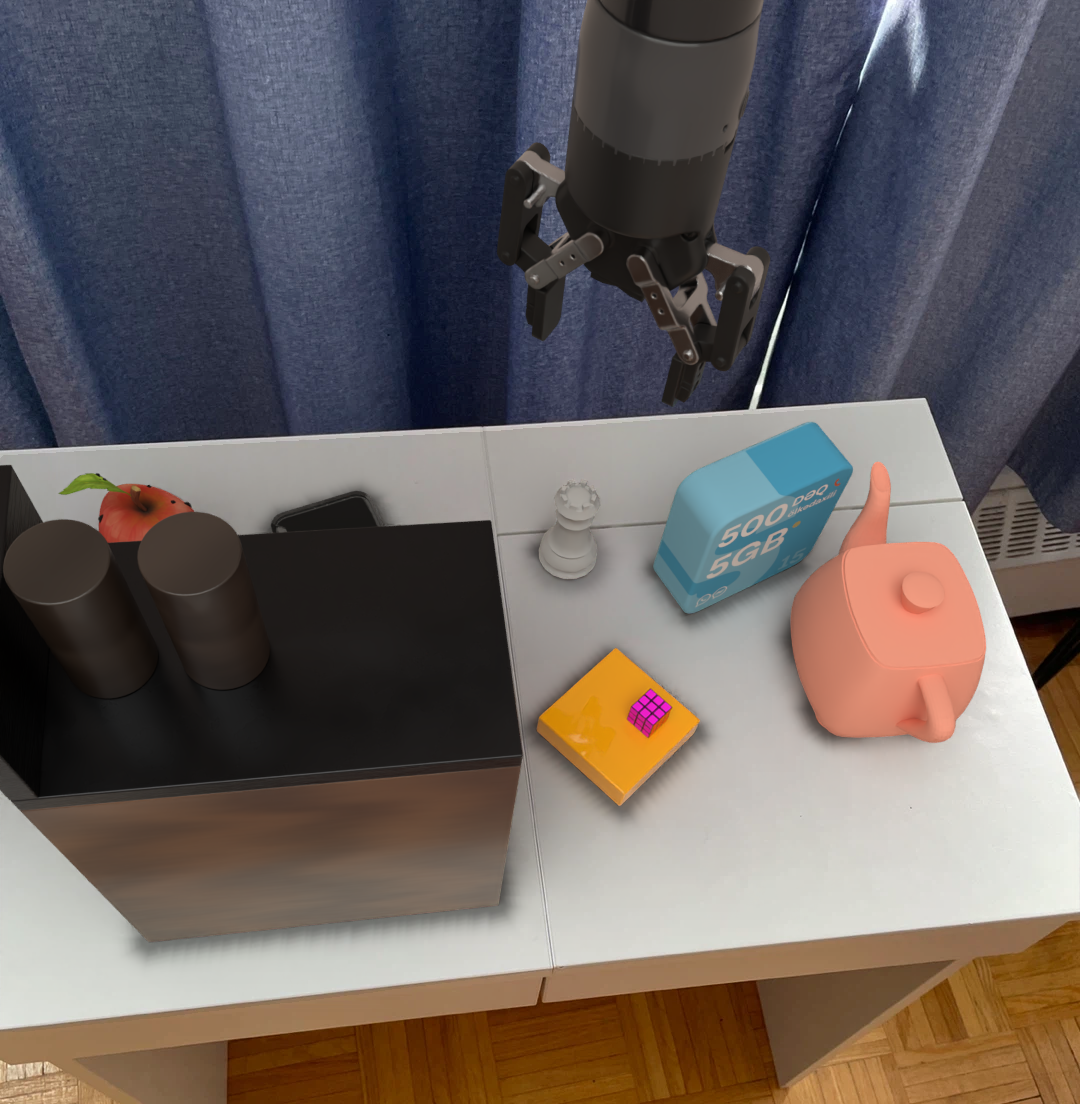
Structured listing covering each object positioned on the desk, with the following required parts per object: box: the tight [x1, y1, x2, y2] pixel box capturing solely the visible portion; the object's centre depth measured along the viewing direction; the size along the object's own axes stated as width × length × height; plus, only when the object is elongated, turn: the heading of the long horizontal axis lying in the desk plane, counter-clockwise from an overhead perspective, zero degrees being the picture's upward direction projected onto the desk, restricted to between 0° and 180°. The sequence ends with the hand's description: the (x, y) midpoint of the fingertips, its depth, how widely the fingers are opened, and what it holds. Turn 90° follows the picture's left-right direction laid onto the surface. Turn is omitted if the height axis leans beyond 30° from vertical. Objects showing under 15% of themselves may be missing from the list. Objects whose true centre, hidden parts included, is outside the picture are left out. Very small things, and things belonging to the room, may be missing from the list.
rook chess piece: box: [538, 478, 601, 580], centre depth 79 cm, size 4×4×8 cm
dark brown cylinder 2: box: [137, 511, 270, 690], centre depth 46 cm, size 4×4×8 cm
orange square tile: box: [536, 647, 701, 807], centre depth 75 cm, size 8×8×4 cm
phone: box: [270, 490, 385, 533], centre depth 79 cm, size 8×1×15 cm
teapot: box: [790, 461, 987, 744], centre depth 75 cm, size 20×12×12 cm, turn 8°
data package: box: [653, 421, 854, 614], centre depth 78 cm, size 12×4×12 cm, turn 120°
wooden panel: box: [19, 765, 522, 943], centre depth 62 cm, size 22×13×23 cm, turn 97°
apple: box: [57, 472, 196, 543], centre depth 75 cm, size 8×7×10 cm
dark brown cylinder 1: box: [3, 518, 158, 699], centre depth 46 cm, size 4×4×8 cm
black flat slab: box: [0, 464, 524, 811], centre depth 48 cm, size 22×13×7 cm, turn 97°
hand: (609, 362), depth 62 cm, fingers open, 8 cm apart
